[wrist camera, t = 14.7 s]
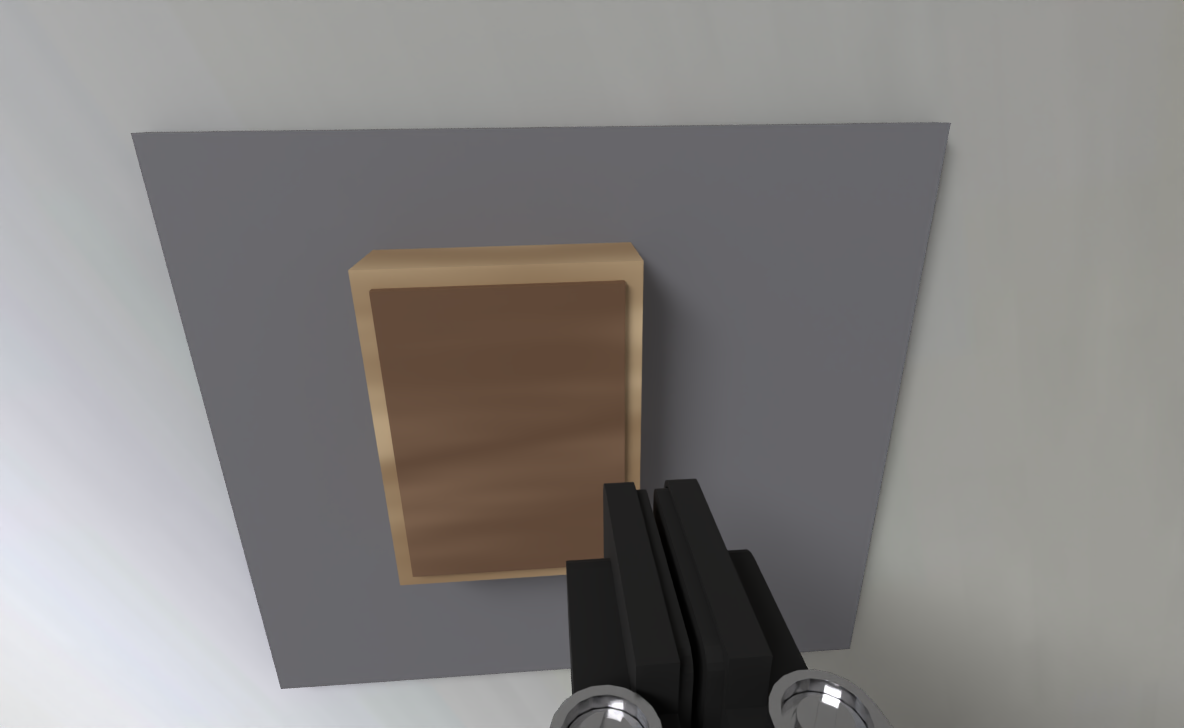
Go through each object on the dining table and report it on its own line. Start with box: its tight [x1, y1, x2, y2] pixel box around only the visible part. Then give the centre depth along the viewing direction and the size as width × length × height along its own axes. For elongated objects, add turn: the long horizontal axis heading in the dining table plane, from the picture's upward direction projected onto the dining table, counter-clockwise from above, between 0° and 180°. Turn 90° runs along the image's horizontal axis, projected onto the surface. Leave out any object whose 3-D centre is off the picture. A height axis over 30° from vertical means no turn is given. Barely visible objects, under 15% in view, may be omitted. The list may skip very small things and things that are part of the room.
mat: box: [131, 122, 951, 689], centre depth 17 cm, size 18×16×1 cm
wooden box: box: [348, 242, 644, 585], centre depth 15 cm, size 2×6×8 cm
